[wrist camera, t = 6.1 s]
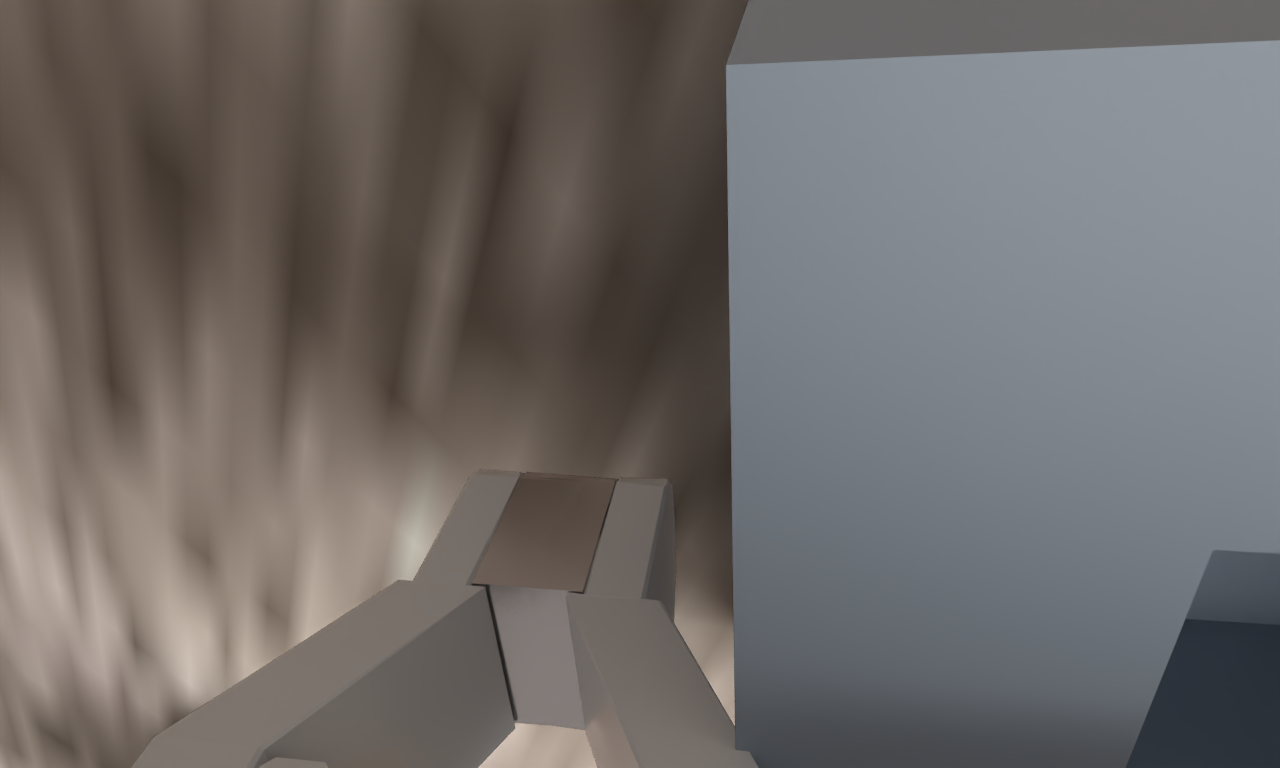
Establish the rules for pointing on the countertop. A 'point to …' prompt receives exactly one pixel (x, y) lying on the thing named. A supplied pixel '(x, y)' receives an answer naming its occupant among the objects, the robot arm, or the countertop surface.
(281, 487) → the countertop surface
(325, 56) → the countertop surface
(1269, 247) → the socket block
